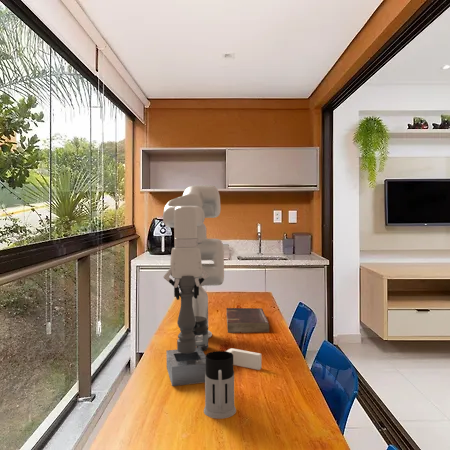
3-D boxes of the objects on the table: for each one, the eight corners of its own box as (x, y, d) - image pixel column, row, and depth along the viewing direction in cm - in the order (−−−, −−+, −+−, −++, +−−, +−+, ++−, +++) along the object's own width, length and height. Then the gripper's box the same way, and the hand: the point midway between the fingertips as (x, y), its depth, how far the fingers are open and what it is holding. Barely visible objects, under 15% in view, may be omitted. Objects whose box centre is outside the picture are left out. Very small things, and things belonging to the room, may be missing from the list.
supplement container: (192, 343, 170) (191, 314, 169) (213, 347, 164) (213, 317, 164) (176, 350, 161) (175, 320, 160) (198, 355, 155) (198, 323, 155)
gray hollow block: (166, 367, 143) (166, 350, 143) (200, 364, 146) (200, 347, 146) (172, 386, 127) (171, 366, 127) (210, 381, 130) (209, 363, 130)
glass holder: (235, 402, 116) (234, 349, 115) (238, 429, 101) (237, 368, 101) (203, 403, 115) (203, 350, 115) (202, 430, 101) (202, 369, 101)
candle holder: (178, 353, 133) (178, 277, 132) (175, 347, 139) (175, 274, 138) (197, 352, 135) (197, 276, 134) (193, 346, 141) (194, 273, 140)
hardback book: (269, 333, 185) (269, 322, 185) (227, 333, 185) (227, 322, 185) (262, 317, 214) (262, 307, 214) (226, 317, 214) (226, 308, 214)
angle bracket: (208, 364, 146) (207, 350, 145) (253, 359, 150) (253, 346, 150) (214, 374, 136) (214, 359, 136) (262, 369, 140) (262, 354, 140)
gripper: (209, 242, 141) (209, 294, 142) (158, 243, 137) (159, 297, 138) (213, 243, 134) (214, 299, 135) (160, 245, 130) (161, 302, 131)
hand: (186, 297), depth 136 cm, fingers closed on candle holder, 5 cm apart
